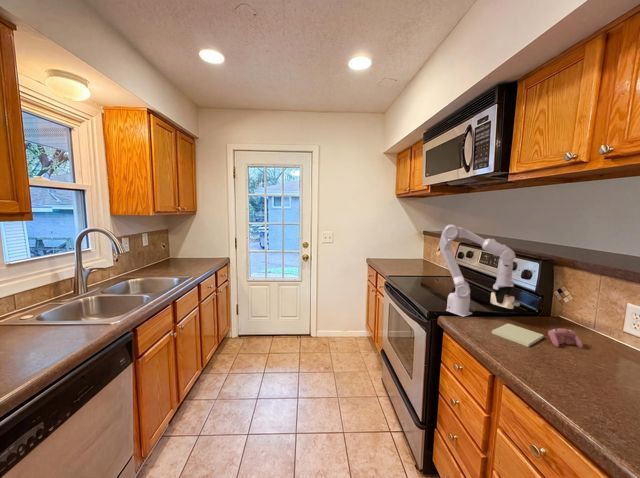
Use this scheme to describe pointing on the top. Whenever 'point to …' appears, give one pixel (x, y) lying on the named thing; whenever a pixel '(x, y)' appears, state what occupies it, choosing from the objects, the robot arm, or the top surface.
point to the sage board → (518, 334)
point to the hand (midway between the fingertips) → (501, 302)
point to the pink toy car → (568, 335)
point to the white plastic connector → (504, 301)
